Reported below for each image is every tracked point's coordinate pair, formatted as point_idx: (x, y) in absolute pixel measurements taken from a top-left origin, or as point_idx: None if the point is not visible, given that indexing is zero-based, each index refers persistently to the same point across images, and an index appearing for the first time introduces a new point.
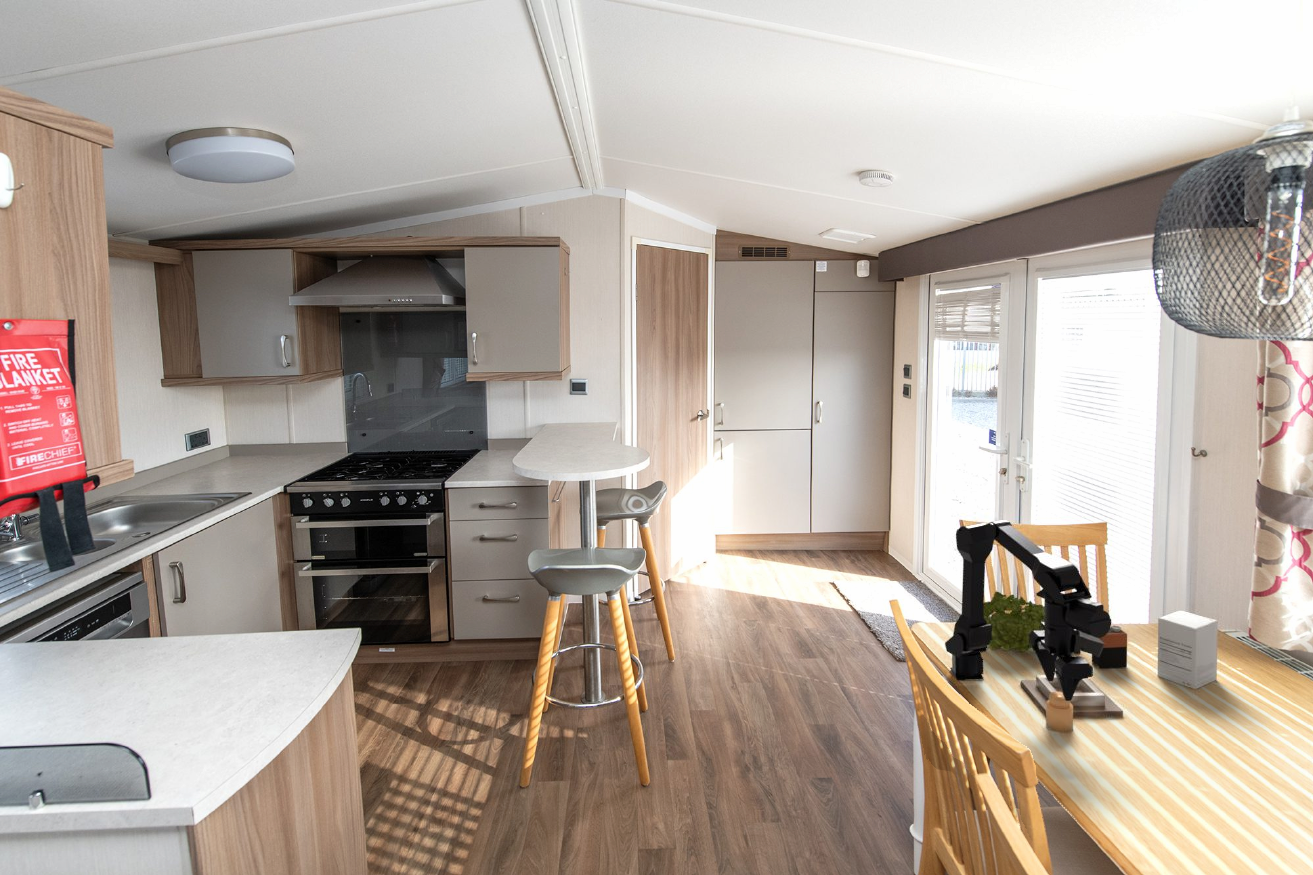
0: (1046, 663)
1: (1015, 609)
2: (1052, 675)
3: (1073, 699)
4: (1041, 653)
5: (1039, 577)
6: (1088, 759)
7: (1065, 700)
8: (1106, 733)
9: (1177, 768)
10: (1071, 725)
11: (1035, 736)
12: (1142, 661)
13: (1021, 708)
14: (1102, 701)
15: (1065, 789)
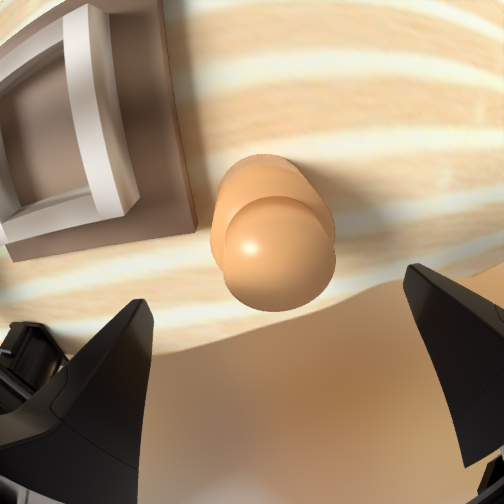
0: (124, 426)
1: None
2: (136, 330)
3: (110, 129)
4: (122, 499)
5: None
6: (447, 183)
7: (333, 251)
8: (309, 51)
9: (468, 3)
10: (301, 173)
11: None
12: None
13: (152, 282)
14: (101, 17)
15: (493, 262)
